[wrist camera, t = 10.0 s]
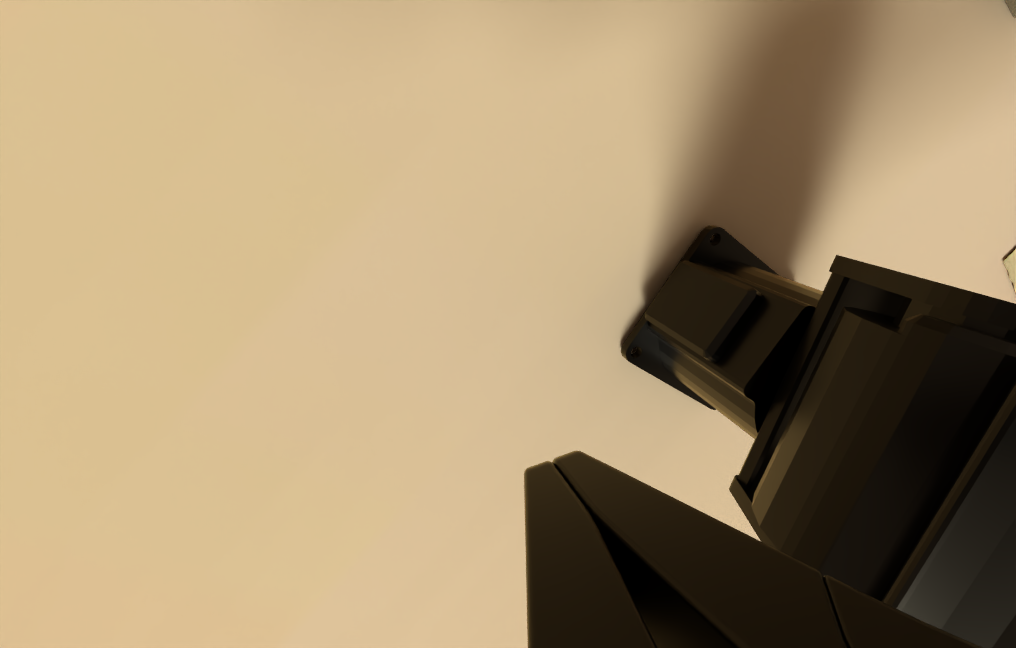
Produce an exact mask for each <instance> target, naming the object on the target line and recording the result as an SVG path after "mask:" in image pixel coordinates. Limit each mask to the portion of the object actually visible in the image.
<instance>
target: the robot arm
mask: <svg viewBox="0 0 1016 648" xmlns="http://www.w3.org/2000/svg"><path fill="white" fill-rule="evenodd" d="M713 234H714V239H713V241H712V242H711V243H710V238H711V236H712V235H713ZM829 271H830V272H832V274H831V276H830V278H829V280H828V282H827V285H826V287H825V289H824V291H820V290H817V289H814V288H811V287H809V286H806V285H803V284H800V283H798V282H795V281H792V280H789V279H786V278H784V277H781V276H779V275H778V274H777V273H775V272H774V271H773V270H772V269H771V268H769V267H768V266H767V265H766V264H765V263H763V262H762V261H761V260H760V259H759V258H757V257H756V256H755V255H754V254H753V253H751V252H750V251H749V250H748V249H747V248H745V247H744V246H743V245H742V244H741V243H739V242H738V241H737V240H736V239H735V238H733V237H732V236H731V235H730V234H729V233H727V232H726V231H725V230H724V229H722V228H720V227H717V226H714V225H709V226H707V227H705V228H704V229H703V230H702V231H701V232H700V234H699V235H698V237H697V238H696V240H695V241H694V242H693V244H692V245H691V247H690V248H689V250H688V251H687V253H686V254H685V255H684V257H683V258H682V260H681V261H680V263H679V264H678V265H677V267H676V268H675V270H674V271H673V273H672V274H671V275H670V277H669V278H668V280H667V281H666V283H665V284H664V286H663V287H662V288H661V290H660V291H659V293H658V294H657V296H656V297H655V299H654V300H653V301H652V303H651V304H650V306H649V307H648V309H647V310H646V312H645V313H644V315H643V316H642V318H641V319H640V320H639V322H638V323H637V325H636V326H635V328H634V329H633V331H632V332H631V333H630V335H629V336H628V338H627V339H626V341H625V342H624V343H623V346H622V348H621V353H622V356H623V357H624V358H625V359H626V360H628V361H629V362H630V363H632V364H634V365H635V366H637V367H639V368H641V369H642V370H644V371H646V372H648V373H649V374H651V375H653V376H655V377H656V378H658V379H660V380H662V381H663V382H665V383H667V384H669V385H670V386H672V387H674V388H675V389H677V390H679V391H681V392H682V393H684V394H686V395H688V396H689V397H691V398H693V399H695V400H696V401H698V402H700V403H702V404H703V405H705V406H707V407H708V408H710V409H713V410H716V409H717V410H718V411H719V412H720V413H722V414H723V415H724V416H726V417H727V418H728V419H730V420H731V421H732V422H733V423H735V424H736V425H737V426H739V427H740V428H741V429H742V430H744V431H745V432H746V433H748V434H749V435H750V436H752V437H753V438H754V439H755V441H754V443H753V445H752V447H751V449H750V451H749V454H748V456H747V458H746V460H745V462H744V464H743V467H742V469H741V471H740V473H739V475H735V477H734V479H733V481H732V483H731V486H730V488H729V490H730V492H731V493H732V495H733V497H734V498H735V500H736V502H737V503H738V505H739V506H740V508H741V510H742V511H743V513H744V514H745V516H746V518H747V519H748V521H749V523H750V524H751V526H752V527H753V529H754V531H755V532H756V534H757V535H758V537H759V539H760V540H761V542H760V541H758V540H756V539H754V538H752V537H751V536H749V535H747V534H745V533H743V532H741V531H739V530H737V529H735V528H733V527H731V526H729V525H727V524H725V523H723V522H721V521H719V520H717V519H715V518H713V517H711V516H709V515H707V514H705V513H703V512H701V511H699V510H697V509H695V508H693V507H691V506H689V505H687V504H685V503H683V502H681V501H679V500H677V499H675V498H673V497H671V496H669V495H667V494H665V493H663V492H661V491H659V490H657V489H655V488H653V487H651V486H649V485H647V484H645V483H643V482H641V481H639V480H637V479H635V478H633V477H631V476H629V475H627V474H625V473H623V472H621V471H619V470H617V469H615V468H613V467H611V466H609V465H607V464H605V463H603V462H601V461H599V460H597V459H595V458H593V457H591V456H589V455H587V454H585V453H583V452H581V451H573V452H570V453H568V454H565V455H562V456H559V457H557V458H555V459H554V460H553V462H549V461H546V462H543V463H540V464H538V465H535V466H532V467H529V468H527V469H526V470H525V472H524V491H525V537H526V583H527V629H528V648H1016V304H1014V303H1011V302H1007V301H1003V300H1000V299H996V298H992V297H989V296H985V295H982V294H978V293H974V292H971V291H967V290H963V289H960V288H956V287H952V286H949V285H945V284H941V283H938V282H934V281H930V280H927V279H923V278H919V277H916V276H912V275H908V274H905V273H901V272H897V271H894V270H890V269H886V268H883V267H879V266H875V265H872V264H868V263H864V262H860V261H857V260H853V259H849V258H846V257H842V256H838V255H836V257H835V259H834V261H833V263H832V266H831V268H830V270H829ZM635 347H637V349H636V351H635V352H634V353H632V354H631V351H632V349H634V348H635Z"/></svg>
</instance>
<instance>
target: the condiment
mask: <svg viewBox="0 0 1016 648" xmlns="http://www.w3.org/2000/svg"><path fill="white" fill-rule="evenodd" d="M1004 264H1005V267H1006V269H1007V270H1008V273H1009V278H1010V280H1011V281H1012V283H1013V285H1014V289H1015V292H1016V249H1015V250H1014V251H1013V252H1012V254H1011V255H1009V256H1008V257H1007V258H1006V259H1005V260H1004Z"/></svg>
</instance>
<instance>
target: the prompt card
mask: <svg viewBox="0 0 1016 648" xmlns="http://www.w3.org/2000/svg"><path fill="white" fill-rule="evenodd" d="M1005 1H1006V3H1007V5H1008V7H1009V9H1010V11H1011V13H1012V15H1013V17H1014V18H1015V17H1016V0H1005Z"/></svg>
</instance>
